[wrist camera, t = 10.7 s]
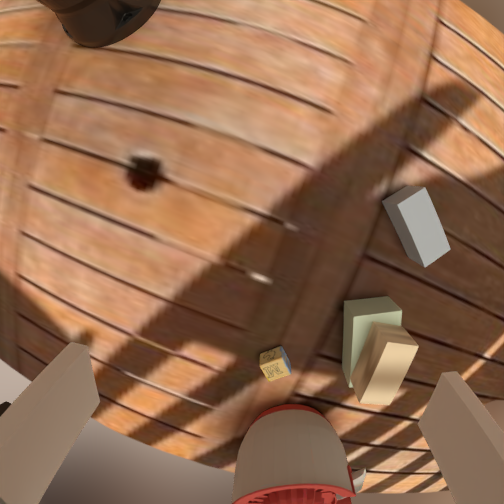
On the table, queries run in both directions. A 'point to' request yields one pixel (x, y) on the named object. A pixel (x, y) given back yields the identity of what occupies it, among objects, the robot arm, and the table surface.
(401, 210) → the slate brick
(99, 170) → the table surface
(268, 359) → the alphabet block
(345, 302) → the sage brick
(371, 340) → the maple brick
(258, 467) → the citrus juicer
